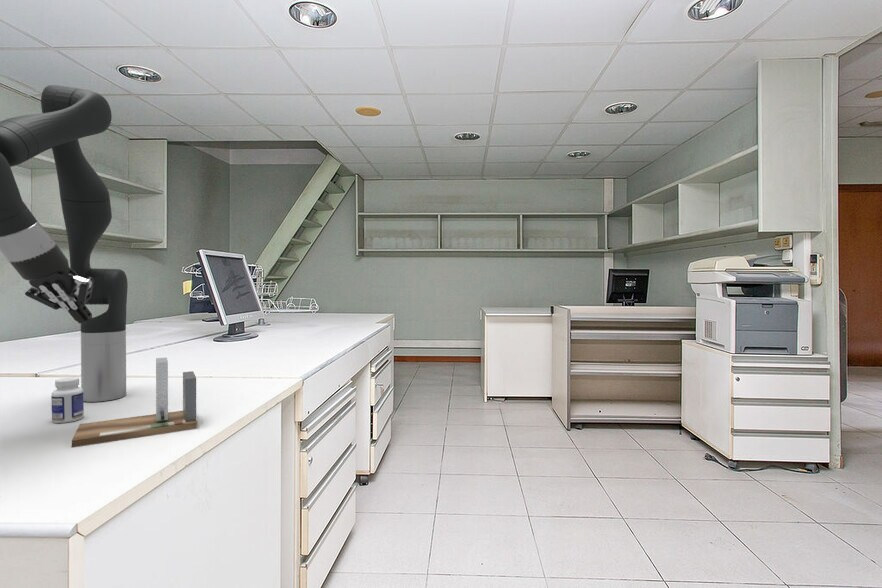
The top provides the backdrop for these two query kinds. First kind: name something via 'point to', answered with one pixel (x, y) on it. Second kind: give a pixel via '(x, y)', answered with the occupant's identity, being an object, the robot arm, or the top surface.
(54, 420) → the pill bottle
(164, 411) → the brushed steel sheet
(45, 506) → the top surface
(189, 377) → the grey wood-grain slab
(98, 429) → the brown wooden base board
